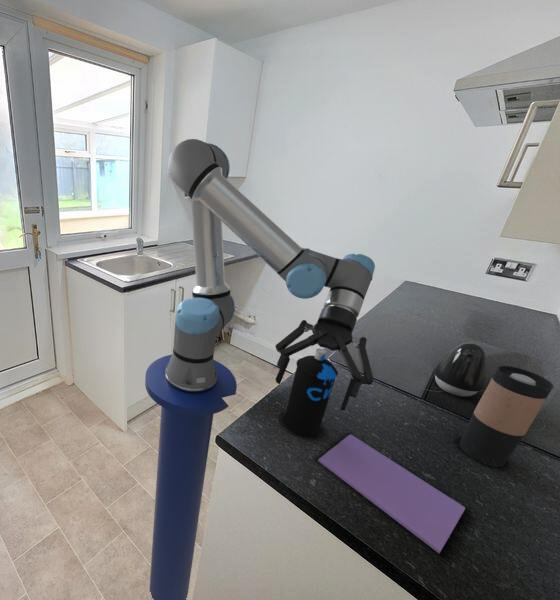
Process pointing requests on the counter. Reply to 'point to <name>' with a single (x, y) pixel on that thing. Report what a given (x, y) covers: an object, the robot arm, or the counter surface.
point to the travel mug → (504, 414)
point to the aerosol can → (310, 394)
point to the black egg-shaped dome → (462, 370)
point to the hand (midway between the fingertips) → (308, 395)
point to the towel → (395, 491)
